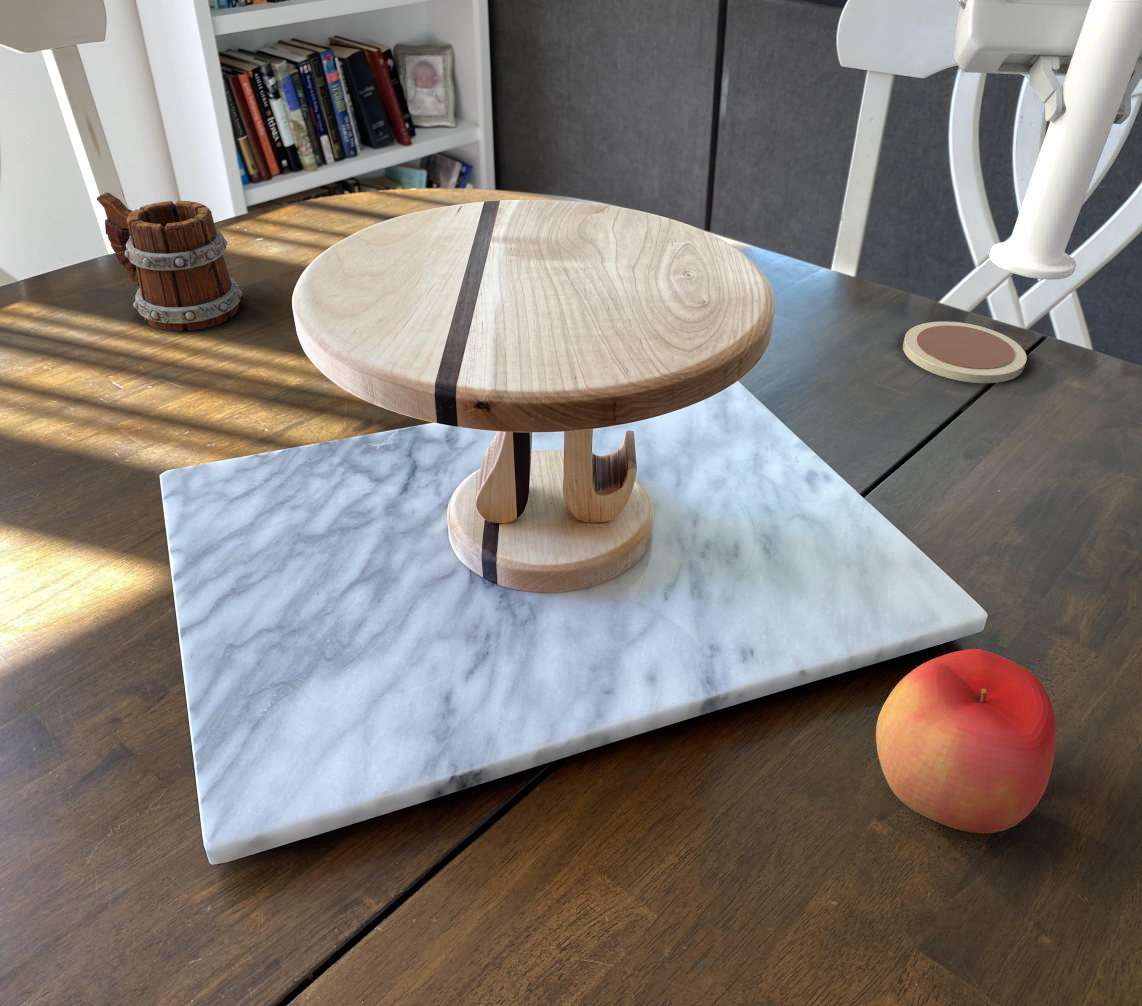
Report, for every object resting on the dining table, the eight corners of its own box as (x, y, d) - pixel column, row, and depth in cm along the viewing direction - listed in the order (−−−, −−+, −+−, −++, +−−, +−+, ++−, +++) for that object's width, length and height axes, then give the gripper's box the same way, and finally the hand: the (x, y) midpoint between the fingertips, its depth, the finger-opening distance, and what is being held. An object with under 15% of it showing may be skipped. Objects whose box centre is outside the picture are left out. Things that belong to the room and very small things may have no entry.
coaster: (970, 324, 112) (973, 314, 111) (1049, 374, 102) (1053, 363, 101) (879, 339, 108) (881, 328, 107) (951, 392, 98) (955, 382, 97)
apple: (914, 713, 63) (953, 603, 57) (1052, 803, 57) (1111, 692, 51) (831, 793, 58) (865, 682, 52) (974, 901, 52) (1030, 790, 46)
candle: (1089, 271, 82) (1222, -61, 67) (1042, 286, 78) (1170, -59, 63) (1019, 243, 86) (1129, -73, 71) (971, 257, 83) (1076, -72, 68)
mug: (208, 341, 103) (156, 205, 95) (110, 340, 108) (53, 211, 100) (269, 300, 112) (227, 173, 104) (177, 300, 117) (129, 179, 109)
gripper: (970, -71, 74) (973, 91, 72) (1233, -63, 73) (1243, 101, 71) (940, -16, 80) (942, 135, 78) (1182, -8, 79) (1190, 144, 77)
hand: (1088, 119), depth 75 cm, fingers closed on candle, 3 cm apart
